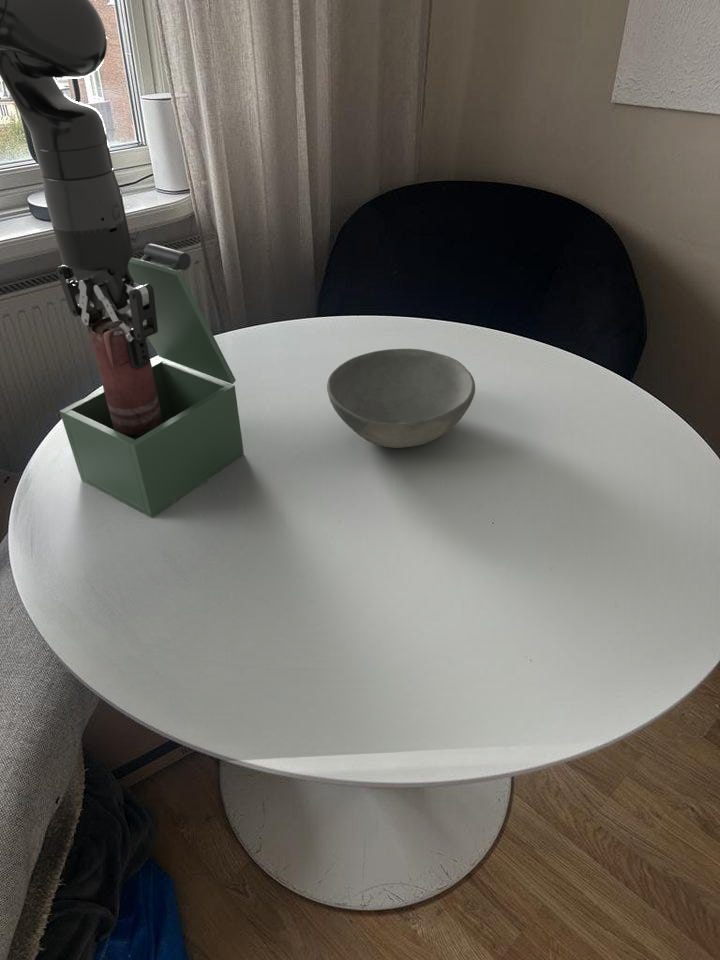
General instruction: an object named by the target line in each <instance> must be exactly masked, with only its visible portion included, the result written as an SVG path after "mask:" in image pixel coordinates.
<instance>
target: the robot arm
mask: <svg viewBox="0 0 720 960" xmlns="http://www.w3.org/2000/svg"><path fill="white" fill-rule="evenodd" d="M107 48H108V37H107V33H106V28H105V25H104V22H103V20H102V18H101V15H100V14H99V12H98V10H97V9H96V7H95V6H94V5H93V3H92V2H91V1H90V0H0V78H1V80H2V82H3V84H4V86H5V87H6V90H7V91H8V92H9V95H10V97H11V99H12V101H13V103H14V105H15V107H16V109H17V111H18V112H19V114H20V116H21V118H22V119H23V121H24V123H25V125H26V127H27V129H28V131H29V133H30V136H31V141H32V144H33V149H34V152H35V156H36V160H37V164H38V168H39V171H40V172H39V173H40V174H41V180H42V186H43V194H44V199H45V204H46V207H47V210H48V215H49V217H50V222H51V225H52V230H53V234H54V237H55V240H56V245H57V248H58V251H59V252H58V253H59V255H60V259H61V263H62V265H60V266H57V267H56V269H55V270H56V273H57V277H58V280H59V282H60V285H61V287H62V288H61V289H62V291H63V294H64V297H65V300H66V302H67V305H68V308H69V311H70V313H71V315H72V316H73V317H75V318H77V317H79V318H81V319H80V320H81V322H82V324H83V325H84V326H86V328H87V331H88V335H89V336H90V333H91V327H92V325H93V324H94V323H95V322H97V321H99V320H101V319H104V318H106V312H107V314H108V317H110V318H111V320H112V321H113V322H114V323H115V324H118V325H119V326H120V328H121V330H122V332H123V334H124V336H125V338H126V339H127V340H125V342H126V346H127V350H128V355H129V359H130V363H131V367H132V368H134V369H137V370H138V369H141V368H142V367H144V366H146V365H148V364H149V361H151V357H150V352H149V351H150V350H149V347H148V343H147V338H148V336H150V335H152V334H155V333H157V332H158V327H157V317H156V308H155V298H154V290H153V287H152V286H151V285H150V284H146V285H143V286H140V285H138V284H136V283H134V281H133V278H132V276H131V274H130V272H129V270H128V263H129V261H130V259H131V258H133V256H134V250H133V245H132V240H131V234H130V231H129V227H128V221H127V220H128V219H127V216H126V211H125V206H124V201H123V197H122V196H123V195H122V193H121V189H120V186H119V182H118V179H117V177H116V174H115V173H116V172H115V170H114V167H113V165H114V164H113V160H112V156H111V151H110V146H109V142H108V136H107V131H106V127H105V124H104V120H103V118H102V115H101V114H100V112H99V111H98V110H97V109H96V108H94V107H92V106H90V105H87V104H84V103H82V102H78V101H75V100H73V99H71V98H70V97H68V96H67V95H66V94H65V93H64V92H63V90H62V88H61V87H60V85H59V83H58V82H57V80H56V78H59V79H60V78H61V79H62V78H63V79H81V78H85V77H88V76H90V75H93V74H94V73H95V72H97V71H98V69H100V67H101V66H102V64H103V62H104V60H105V58H106V55H107ZM77 295H79V299H78V301H77V299H76V296H77ZM127 304H129V306H130V308H128V310H127V311H125V312H119V311H120V310H122V309H125V308H126V307H129V306H128V305H127ZM128 318H132V323H133V329H131V328H130V326H129V324H128V322H127V319H128ZM144 320H147V324H146V325H145V323H144ZM102 332H103V331H102ZM89 339H90V340H91V338H90V337H89ZM90 343H91V344H92V342H91V341H90Z"/></svg>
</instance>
